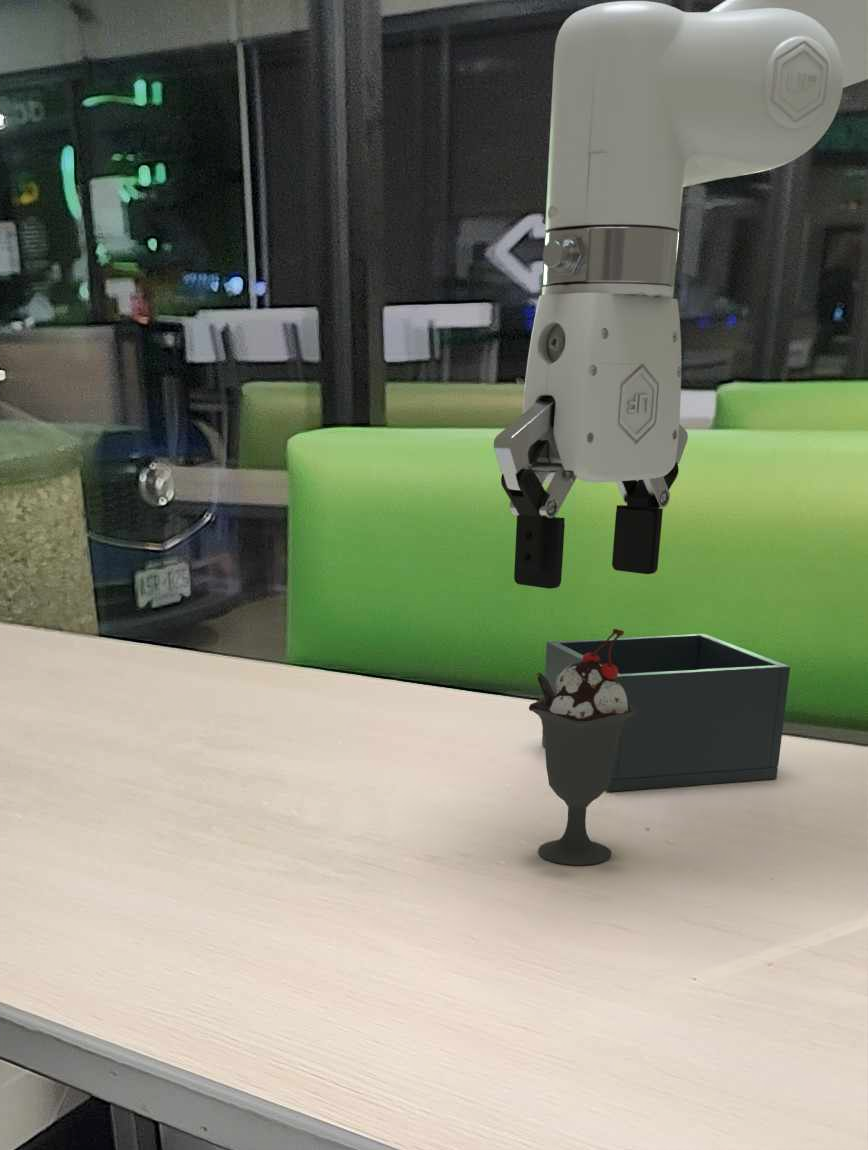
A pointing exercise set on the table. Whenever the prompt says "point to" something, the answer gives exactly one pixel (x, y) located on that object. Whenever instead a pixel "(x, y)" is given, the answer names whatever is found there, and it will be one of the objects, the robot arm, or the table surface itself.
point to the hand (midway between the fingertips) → (587, 578)
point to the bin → (688, 709)
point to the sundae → (581, 747)
